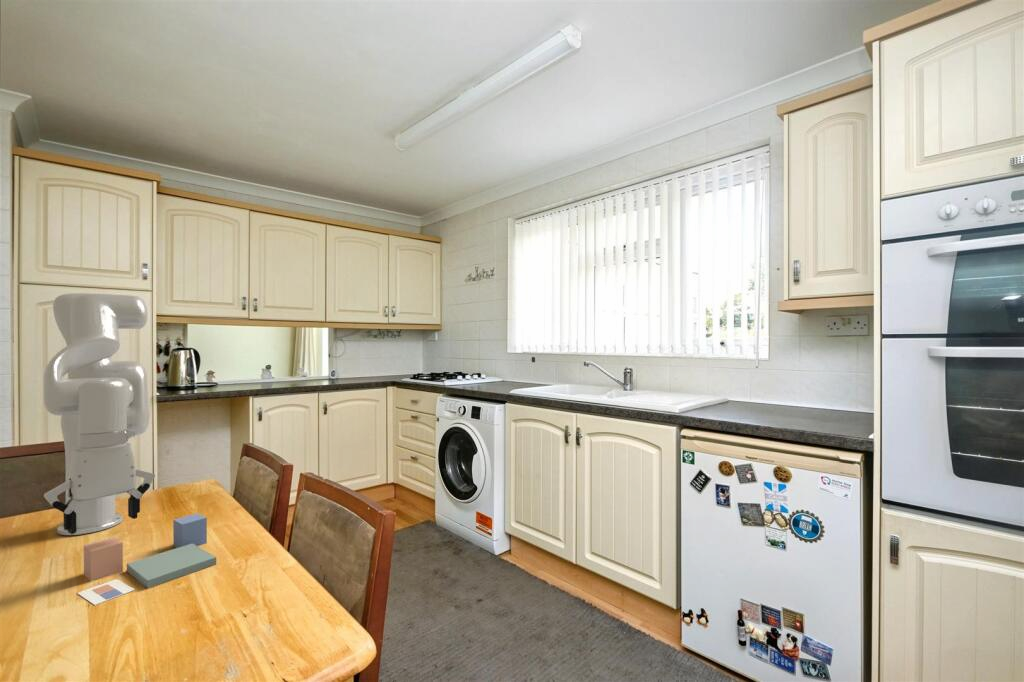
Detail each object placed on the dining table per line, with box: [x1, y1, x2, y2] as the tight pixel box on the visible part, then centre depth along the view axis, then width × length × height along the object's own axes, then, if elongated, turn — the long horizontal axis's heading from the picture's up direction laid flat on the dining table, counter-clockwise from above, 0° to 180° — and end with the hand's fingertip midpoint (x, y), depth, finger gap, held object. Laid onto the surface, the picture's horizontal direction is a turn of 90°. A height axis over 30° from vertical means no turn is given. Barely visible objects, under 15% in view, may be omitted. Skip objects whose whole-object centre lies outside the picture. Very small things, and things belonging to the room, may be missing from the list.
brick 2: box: [172, 513, 208, 548], centre depth 110 cm, size 5×5×6 cm
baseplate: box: [126, 543, 217, 589], centre depth 99 cm, size 12×12×2 cm
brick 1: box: [83, 536, 124, 582], centre depth 97 cm, size 5×5×6 cm
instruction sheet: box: [77, 578, 135, 606], centre depth 89 cm, size 8×6×1 cm
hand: (103, 524), depth 96 cm, fingers open, 9 cm apart
